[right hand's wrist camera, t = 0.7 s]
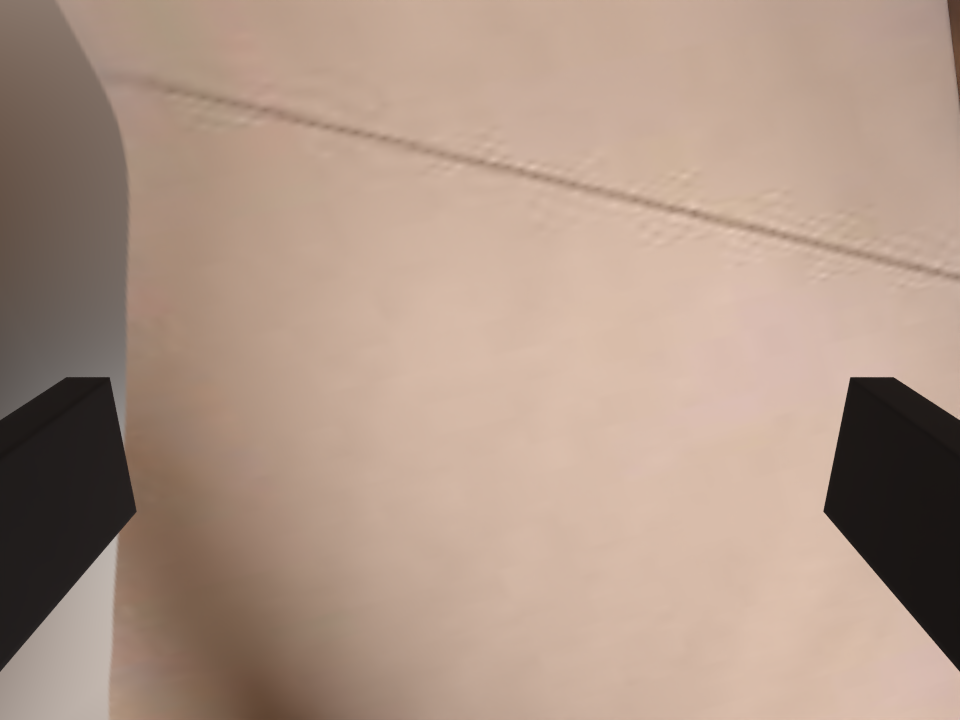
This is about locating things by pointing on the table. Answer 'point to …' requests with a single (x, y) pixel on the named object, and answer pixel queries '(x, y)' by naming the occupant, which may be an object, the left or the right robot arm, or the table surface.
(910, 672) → the table surface
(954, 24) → the post
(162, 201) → the table surface
